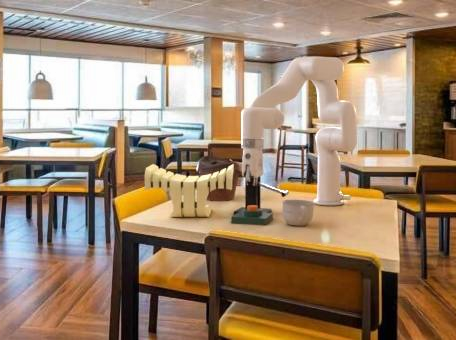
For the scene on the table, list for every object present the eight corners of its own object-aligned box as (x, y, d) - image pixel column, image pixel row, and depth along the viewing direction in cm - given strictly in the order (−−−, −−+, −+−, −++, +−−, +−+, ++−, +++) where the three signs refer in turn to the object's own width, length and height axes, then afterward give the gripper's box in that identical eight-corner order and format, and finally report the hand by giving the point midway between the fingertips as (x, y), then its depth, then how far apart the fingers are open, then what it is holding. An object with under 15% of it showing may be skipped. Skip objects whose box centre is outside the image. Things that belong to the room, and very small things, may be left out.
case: (240, 202, 223) (240, 159, 220) (192, 201, 223) (191, 158, 221) (246, 195, 240) (246, 155, 238) (201, 194, 240) (201, 154, 238)
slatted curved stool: (145, 219, 189) (144, 168, 187) (154, 210, 204) (153, 163, 202) (231, 218, 192) (231, 169, 189) (233, 209, 207) (233, 163, 205)
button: (258, 210, 189) (259, 205, 189) (255, 212, 186) (255, 207, 185) (249, 209, 190) (249, 204, 190) (245, 211, 186) (245, 206, 186)
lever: (287, 196, 201) (289, 190, 200) (284, 198, 196) (286, 192, 195) (250, 182, 203) (252, 176, 203) (246, 184, 198) (248, 178, 198)
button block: (272, 219, 192) (272, 208, 191) (264, 225, 182) (264, 213, 182) (240, 217, 194) (240, 206, 194) (231, 223, 185) (231, 211, 184)
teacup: (281, 220, 189) (282, 198, 188) (312, 220, 190) (312, 198, 189) (283, 230, 176) (283, 205, 175) (316, 229, 177) (316, 205, 176)
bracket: (271, 211, 205) (271, 175, 203) (264, 216, 196) (265, 179, 194) (241, 210, 207) (241, 174, 206) (233, 214, 198) (233, 177, 197)
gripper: (256, 145, 177) (255, 200, 179) (268, 143, 191) (268, 194, 193) (234, 145, 178) (234, 199, 180) (248, 142, 193) (248, 193, 195)
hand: (251, 196), depth 187 cm, fingers closed
